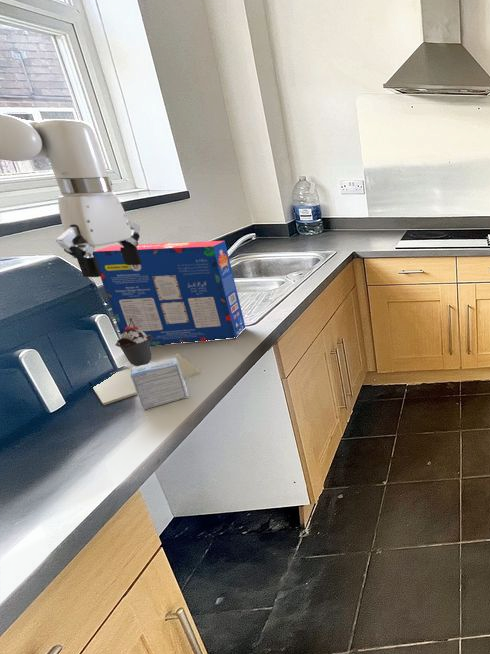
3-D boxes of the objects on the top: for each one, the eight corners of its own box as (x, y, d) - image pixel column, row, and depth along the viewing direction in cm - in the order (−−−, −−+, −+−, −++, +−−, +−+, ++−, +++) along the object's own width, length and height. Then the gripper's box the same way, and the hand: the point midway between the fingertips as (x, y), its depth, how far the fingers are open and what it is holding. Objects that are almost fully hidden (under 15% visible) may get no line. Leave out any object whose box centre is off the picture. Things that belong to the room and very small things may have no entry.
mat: (103, 405, 90) (102, 403, 90) (89, 382, 99) (88, 380, 99) (200, 373, 104) (199, 371, 103) (179, 355, 113) (179, 353, 113)
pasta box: (245, 328, 130) (224, 240, 121) (236, 339, 123) (213, 246, 114) (142, 337, 124) (111, 245, 115) (125, 348, 117) (91, 251, 108)
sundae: (157, 369, 104) (139, 313, 99) (169, 376, 101) (151, 319, 96) (124, 380, 99) (103, 322, 94) (135, 388, 96) (114, 328, 91)
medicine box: (187, 389, 96) (176, 356, 93) (188, 397, 93) (177, 363, 90) (143, 402, 92) (130, 367, 89) (142, 411, 88) (130, 375, 85)
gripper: (106, 184, 91) (131, 260, 96) (19, 191, 74) (55, 282, 80) (141, 184, 91) (163, 260, 96) (61, 190, 74) (94, 282, 80)
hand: (114, 270), depth 88 cm, fingers open, 9 cm apart
